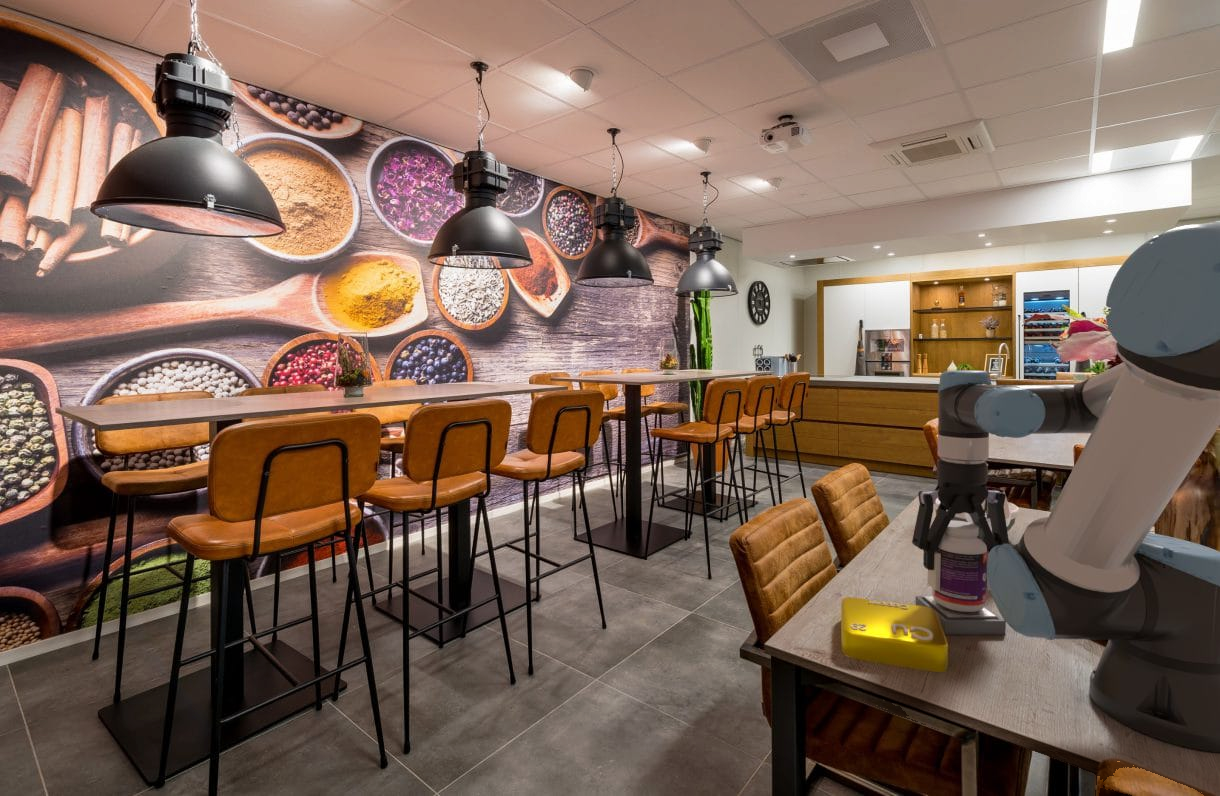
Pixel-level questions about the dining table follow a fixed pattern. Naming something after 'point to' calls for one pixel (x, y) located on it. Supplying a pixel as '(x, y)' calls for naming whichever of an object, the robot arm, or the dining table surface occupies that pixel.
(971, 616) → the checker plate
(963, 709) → the dining table surface
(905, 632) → the element tile
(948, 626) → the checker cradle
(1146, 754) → the dining table surface
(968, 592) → the pill bottle
